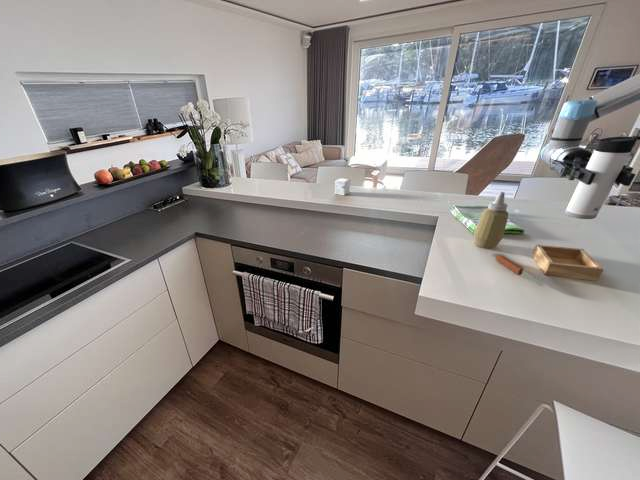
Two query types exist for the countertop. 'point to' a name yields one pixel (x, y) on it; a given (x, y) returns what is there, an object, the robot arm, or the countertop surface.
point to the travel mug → (600, 176)
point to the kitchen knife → (516, 269)
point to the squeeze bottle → (492, 224)
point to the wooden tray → (566, 262)
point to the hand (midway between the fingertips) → (610, 179)
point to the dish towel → (478, 218)
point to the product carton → (342, 186)
